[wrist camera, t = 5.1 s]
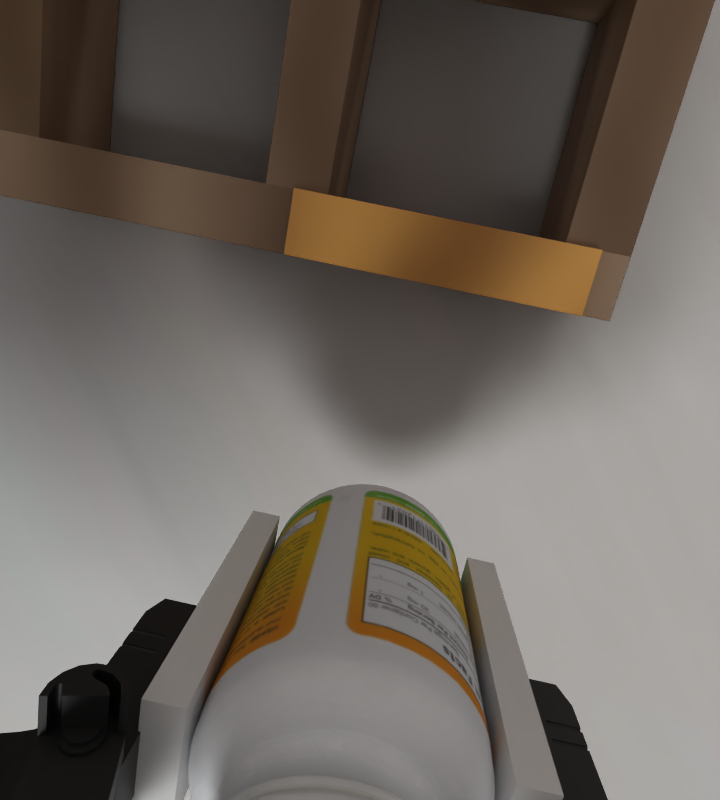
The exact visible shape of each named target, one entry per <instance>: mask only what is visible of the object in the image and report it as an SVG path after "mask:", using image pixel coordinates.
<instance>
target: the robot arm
mask: <svg viewBox="0 0 720 800" xmlns="http://www.w3.org/2000/svg"><path fill="white" fill-rule="evenodd" d="M279 517H280V516H275V515H271V514H266V513H262V512H257V511H253V513H252V514H251V516H250V518H249V519H248V521H247V523H246V524H245V526H244V528H243V529H242V531H241V533H240V534H239V536H238V538H237V539H236V541H235V543H234V544H233V546H232V548H231V549H230V551H229V553H228V554H227V556H226V558H225V560H224V561H223V563H222V565H221V566H220V568H219V570H218V571H217V573H216V575H215V576H214V578H213V580H212V581H211V583H210V585H209V586H208V588H207V590H206V591H205V593H204V595H203V596H202V598H201V600H200V601H199V603H198V605H197V606H196V605H191V604H187V603H182V602H178V601H173V600H169V599H164V600H163V601H161V602H160V603H158V604H157V605H155V606H153V607H152V608H150V609H149V610H147V611H146V612H145V613H144V615H143V616H142V618H141V619H140V620H139V622H138V623H137V624H136V626H135V627H134V629H133V631H132V632H131V633H130V634H129V635H128V637H127V638H126V639H125V641H124V642H123V645H122V646H120V648H119V649H118V650H117V652H116V653H115V654H114V656H113V657H112V658H111V660H110V661H109V663H108V664H107V665H104V664H97V663H96V664H88V665H80V666H77V667H75V668H72V669H70V670H67V671H65V672H62V673H61V674H60V675H58V676H57V677H56V678H54V679H53V680H52V681H50V682H49V683H48V684H47V685H46V687H45V688H44V690H43V691H42V692H41V694H40V695H39V708H38V728H37V729H34V730H28V731H22V732H12V733H0V800H183V799H184V797H185V794H186V792H187V790H188V787H189V778H188V775H189V757H190V749H191V744H192V739H193V735H194V732H195V728H196V726H197V723H198V721H199V718H200V716H201V713H202V710H203V708H204V705H205V702H206V700H207V698H208V696H209V693H210V691H211V688H212V686H213V684H214V681H215V679H216V677H217V675H218V673H219V671H220V669H221V666H222V664H223V662H224V660H225V658H226V655H227V653H228V651H229V649H230V646H231V644H232V642H233V640H234V637H235V635H236V633H237V631H238V629H239V626H240V624H241V622H242V620H243V617H244V615H245V613H246V611H247V608H248V606H249V604H250V602H251V599H252V597H253V595H254V593H255V591H256V588H257V586H258V584H259V582H260V579H261V577H262V575H263V572H264V570H265V568H266V565H267V563H268V561H269V558H270V556H271V554H272V552H273V549H274V546H275V540H276V535H277V529H278V523H279ZM460 583H461V589H462V594H463V600H464V606H465V611H466V616H467V621H468V627H469V632H470V638H471V643H472V648H473V654H474V659H475V665H476V671H477V676H478V682H479V688H480V693H481V698H482V703H483V708H484V713H485V718H486V723H487V730H488V733H489V739H490V745H491V752H492V761H493V769H494V776H495V799H494V800H608V799H607V797H606V794H605V791H604V789H603V786H602V783H601V781H600V778H599V776H598V773H597V770H596V768H595V765H594V762H593V760H592V757H591V754H590V752H589V751H587V744H586V741H585V739H584V736H583V733H582V732H580V726H579V723H578V720H577V718H576V715H575V712H574V710H573V707H572V705H571V704H570V703H569V701H568V700H567V699H566V697H565V696H564V695H563V694H562V692H561V691H560V690H559V688H558V687H557V686H556V685H554V684H549V683H545V682H541V681H536V680H532V679H529V678H528V675H527V672H526V669H525V665H524V662H523V659H522V655H521V652H520V649H519V645H518V642H517V639H516V635H515V632H514V629H513V625H512V622H511V619H510V615H509V612H508V609H507V605H506V602H505V599H504V595H503V592H502V589H501V585H500V582H499V579H498V575H497V572H496V569H495V565H494V563H489V562H485V561H480V560H476V559H471V558H467V561H466V564H465V568H464V571H463V574H462V578H461V581H460Z"/></svg>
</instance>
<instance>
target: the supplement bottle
mask: <svg viewBox="0 0 720 800" xmlns="http://www.w3.org/2000/svg"><path fill="white" fill-rule="evenodd" d="M188 778H189V788H190V795H191V800H494V799H495V776H494V769H493V761H492V752H491V745H490V739H489V733H488V730H487V723H486V718H485V713H484V708H483V703H482V698H481V693H480V688H479V682H478V676H477V671H476V665H475V659H474V654H473V648H472V643H471V638H470V632H469V627H468V621H467V616H466V611H465V606H464V600H463V594H462V589H461V583H460V577H459V572H458V566H457V562H456V558H455V554H454V550H453V547H452V544H451V541H450V539H449V537H448V535H447V533H446V532H445V530H444V528H443V527H442V525H441V524H440V522H439V521H438V520H437V519H436V518H435V516H434V515H433V514H432V513H431V512H430V511H429V510H428V509H427V508H426V507H424V506H423V505H422V504H420V503H419V502H418V501H416V500H415V499H413V498H411V497H410V496H408V495H406V494H403V493H401V492H399V491H396V490H393V489H390V488H387V487H383V486H377V485H366V484H359V485H348V486H343V487H338V488H335V489H332V490H329V491H326V492H324V493H322V494H320V495H318V496H316V497H314V498H313V499H311V500H310V501H308V502H307V503H306V504H304V505H303V506H302V507H301V508H299V509H298V510H297V511H296V512H295V513H294V515H293V516H292V517H291V518H290V519H289V521H288V522H287V524H286V525H285V527H284V529H283V531H282V532H281V534H280V536H279V538H278V540H277V542H276V545H275V547H274V549H273V552H272V554H271V556H270V558H269V561H268V563H267V565H266V568H265V570H264V572H263V575H262V577H261V579H260V582H259V584H258V586H257V588H256V591H255V593H254V595H253V597H252V599H251V602H250V604H249V606H248V608H247V611H246V613H245V615H244V617H243V620H242V622H241V624H240V626H239V629H238V631H237V633H236V635H235V637H234V640H233V642H232V644H231V646H230V649H229V651H228V653H227V655H226V658H225V660H224V662H223V664H222V666H221V669H220V671H219V673H218V675H217V677H216V679H215V681H214V684H213V686H212V688H211V691H210V693H209V696H208V698H207V700H206V702H205V705H204V708H203V710H202V713H201V716H200V718H199V721H198V723H197V726H196V728H195V732H194V735H193V739H192V744H191V749H190V757H189V775H188Z"/></svg>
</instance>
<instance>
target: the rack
mask: <svg viewBox="0 0 720 800" xmlns="http://www.w3.org/2000/svg"><path fill="white" fill-rule="evenodd" d="M473 1H478V2H483V3H489V4H494V5H500V6H505V7H511V8H516V9H522V10H527V11H532V12H538V13H543V14H549V15H554V16H560V17H565V18H571V19H576V20H581V21H587V22H592V23H598V26H597V29H596V33H595V37H594V40H593V44H592V47H591V51H590V55H589V58H588V62H587V65H586V69H585V73H584V76H583V80H582V83H581V87H580V90H579V94H578V98H577V101H576V105H575V108H574V112H573V116H572V119H571V123H570V126H569V130H568V134H567V137H566V141H565V144H564V148H563V151H562V155H561V159H560V162H559V166H558V169H557V173H556V177H555V180H554V184H553V187H552V191H551V195H550V198H549V202H548V205H547V209H546V212H545V216H544V220H543V223H542V227H541V230H540V234H539V237H536V236H531V235H526V234H521V233H516V232H511V231H506V230H501V229H496V228H491V227H486V226H481V225H476V224H471V223H466V222H461V221H456V220H451V219H446V218H441V217H436V216H432V215H427V214H422V213H417V212H412V211H407V210H402V209H397V208H392V207H387V206H382V205H377V204H372V203H367V202H362V201H357V200H352V199H347V198H346V194H347V188H348V182H349V177H350V171H351V166H352V160H353V154H354V149H355V143H356V138H357V132H358V126H359V121H360V115H361V109H362V104H363V98H364V93H365V87H366V81H367V76H368V70H369V65H370V59H371V53H372V48H373V42H374V37H375V31H376V25H377V20H378V14H379V9H380V3H381V0H291V4H290V11H289V18H288V26H287V33H286V40H285V47H284V55H283V62H282V69H281V76H280V84H279V91H278V98H277V105H276V113H275V120H274V127H273V134H272V142H271V149H270V156H269V163H268V171H267V178H266V183H262V182H257V181H252V180H247V179H242V178H237V177H232V176H227V175H222V174H217V173H212V172H207V171H202V170H197V169H192V168H187V167H183V166H178V165H173V164H168V163H163V162H158V161H153V160H148V159H143V158H138V157H133V156H128V155H123V154H118V153H113V152H110V138H111V121H112V105H113V88H114V72H115V55H116V39H117V22H118V6H119V0H0V195H2V196H7V197H12V198H17V199H21V200H26V201H31V202H36V203H41V204H45V205H50V206H55V207H60V208H65V209H70V210H74V211H79V212H84V213H89V214H94V215H99V216H103V217H108V218H113V219H118V220H123V221H128V222H132V223H137V224H142V225H147V226H152V227H156V228H161V229H166V230H171V231H176V232H181V233H185V234H190V235H195V236H200V237H205V238H210V239H214V240H219V241H224V242H229V243H234V244H239V245H243V246H248V247H253V248H258V249H263V250H267V251H272V252H277V253H282V254H285V255H290V256H294V257H299V258H304V259H309V260H314V261H319V262H323V263H328V264H333V265H338V266H343V267H348V268H352V269H357V270H362V271H367V272H372V273H376V274H381V275H386V276H391V277H396V278H401V279H405V280H410V281H415V282H420V283H425V284H430V285H434V286H439V287H444V288H449V289H454V290H459V291H463V292H468V293H473V294H478V295H483V296H487V297H492V298H497V299H502V300H507V301H512V302H516V303H521V304H526V305H531V306H536V307H541V308H545V309H550V310H555V311H560V312H565V313H569V314H574V315H579V316H586V317H591V318H596V319H600V320H605V321H610V318H611V315H612V312H613V309H614V306H615V303H616V300H617V297H618V294H619V291H620V288H621V285H622V282H623V279H624V276H625V273H626V270H627V267H628V264H629V260H630V257H631V254H632V251H633V248H634V245H635V242H636V239H637V236H638V233H639V230H640V227H641V224H642V221H643V218H644V215H645V212H646V209H647V206H648V203H649V200H650V196H651V193H652V190H653V187H654V184H655V181H656V178H657V175H658V172H659V169H660V166H661V163H662V160H663V157H664V154H665V151H666V148H667V145H668V142H669V139H670V136H671V133H672V129H673V126H674V123H675V120H676V117H677V114H678V111H679V108H680V105H681V102H682V99H683V96H684V93H685V90H686V87H687V84H688V81H689V78H690V75H691V72H692V69H693V65H694V62H695V59H696V56H697V53H698V50H699V47H700V44H701V41H702V38H703V35H704V32H705V29H706V26H707V23H708V20H709V17H710V14H711V11H712V8H713V5H714V1H715V0H473Z"/></svg>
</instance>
